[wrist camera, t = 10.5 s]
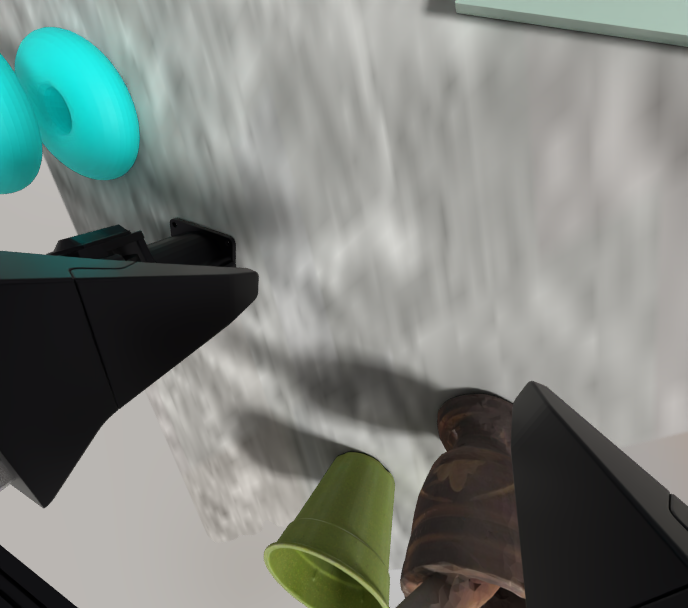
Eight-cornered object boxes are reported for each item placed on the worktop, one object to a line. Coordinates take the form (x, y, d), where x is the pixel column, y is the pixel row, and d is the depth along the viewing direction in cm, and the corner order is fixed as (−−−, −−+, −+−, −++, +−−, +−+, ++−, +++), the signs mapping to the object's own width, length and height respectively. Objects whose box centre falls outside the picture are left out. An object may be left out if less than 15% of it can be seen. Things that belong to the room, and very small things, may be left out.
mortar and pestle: (386, 420, 30) (281, 761, 14) (412, 354, 26) (300, 747, 9) (509, 472, 28) (557, 957, 12) (562, 409, 23) (767, 1071, 7)
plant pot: (392, 432, 31) (357, 561, 22) (430, 511, 35) (413, 650, 25) (299, 434, 37) (239, 538, 27) (340, 502, 40) (299, 613, 31)
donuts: (-190, 0, 17) (-100, -44, 13) (30, 43, 25) (119, 22, 22) (-65, 196, 21) (23, 198, 18) (85, 178, 30) (164, 177, 26)
